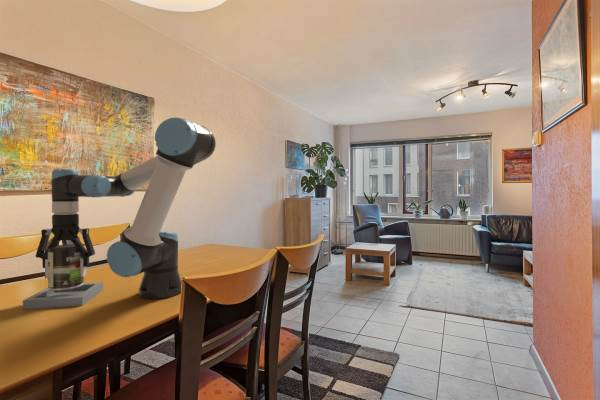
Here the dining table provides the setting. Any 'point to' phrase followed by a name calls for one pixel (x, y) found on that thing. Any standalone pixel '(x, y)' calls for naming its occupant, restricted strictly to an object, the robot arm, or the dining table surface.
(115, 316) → the dining table surface
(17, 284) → the dining table surface
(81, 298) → the grey square tray
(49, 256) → the coffee can
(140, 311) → the dining table surface
